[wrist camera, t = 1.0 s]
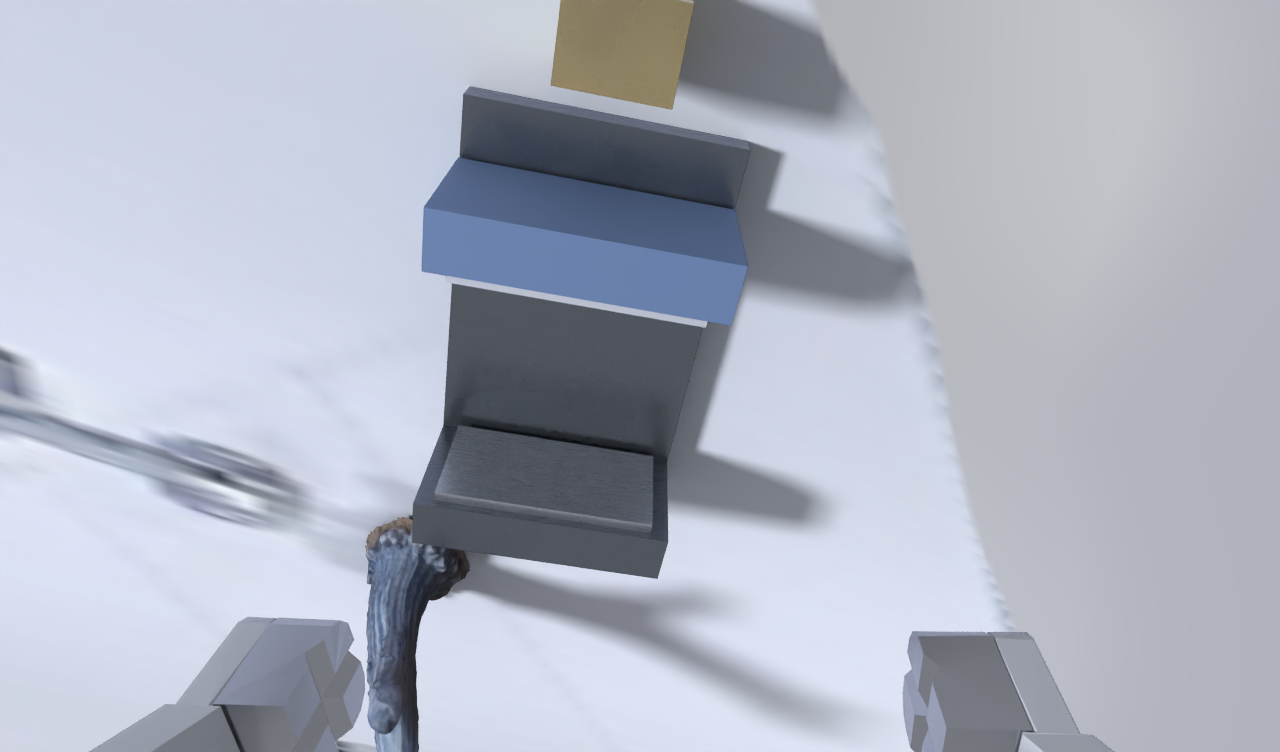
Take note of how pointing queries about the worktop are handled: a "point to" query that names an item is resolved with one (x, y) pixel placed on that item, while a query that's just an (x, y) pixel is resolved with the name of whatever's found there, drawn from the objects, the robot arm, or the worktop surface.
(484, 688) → the worktop surface
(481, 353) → the base
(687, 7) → the brass block
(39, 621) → the worktop surface
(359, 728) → the worktop surface
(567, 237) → the sliding jaw
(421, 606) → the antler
